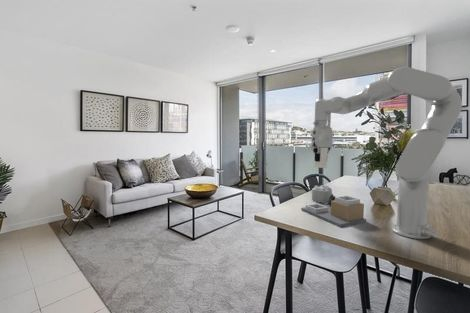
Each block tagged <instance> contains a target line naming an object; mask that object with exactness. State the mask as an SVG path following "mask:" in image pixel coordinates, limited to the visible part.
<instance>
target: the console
mask: <svg viewBox="0 0 470 313" xmlns="http://www.w3.org/2000/svg"><path fill="white" fill-rule="evenodd" d="M301 211H303V212H304V213H306V214H309V215H311V216H314V217H316V218H318V219H321V220H323V221H324V222H325V221H326V222H328V223H330V224H332V225H335V226H336V227H339V228H343V227H348V226H352V225H358V224H363V223H366V222H367V218H365V217H364V211H365V203H363V202H361V198H357V197H353V196H350V195H342V196H335V200H334V201H331V207H330V206H328V205H327V204H326V203H323V204H320V203H311V204H305V206H304V207H301Z"/></svg>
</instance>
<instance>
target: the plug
mask: <svg viewBox="0 0 470 313" xmlns="http://www.w3.org/2000/svg"><path fill="white" fill-rule="evenodd" d="M319 154H320V162H318V161H315V160H314V168H320V169H321V168H324V169H325V168H326V169H327V167H328V166H327V163H328V153H327V148H326V147H320V152H319Z"/></svg>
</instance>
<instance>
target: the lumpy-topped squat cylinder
mask: <svg viewBox="0 0 470 313" xmlns="http://www.w3.org/2000/svg"><path fill="white" fill-rule="evenodd" d="M332 192H333V190H332V188H331V187H330V186H328V185H324V184H323V185H322V184H321V185H314V187H313V188H311V201H312V200H313V201H312V202H315V201H317V203H320V202H321V204H327V203H328V200H329V197H330V196H331V194H332Z"/></svg>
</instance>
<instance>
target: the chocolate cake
mask: <svg viewBox="0 0 470 313" xmlns="http://www.w3.org/2000/svg"><path fill="white" fill-rule="evenodd" d="M335 197H336V196H335V195H334V194H333V193H332V194H331V196H330V197H329V200H328V203H326V205H327V206H330V207H331V201H334V200H335Z"/></svg>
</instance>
